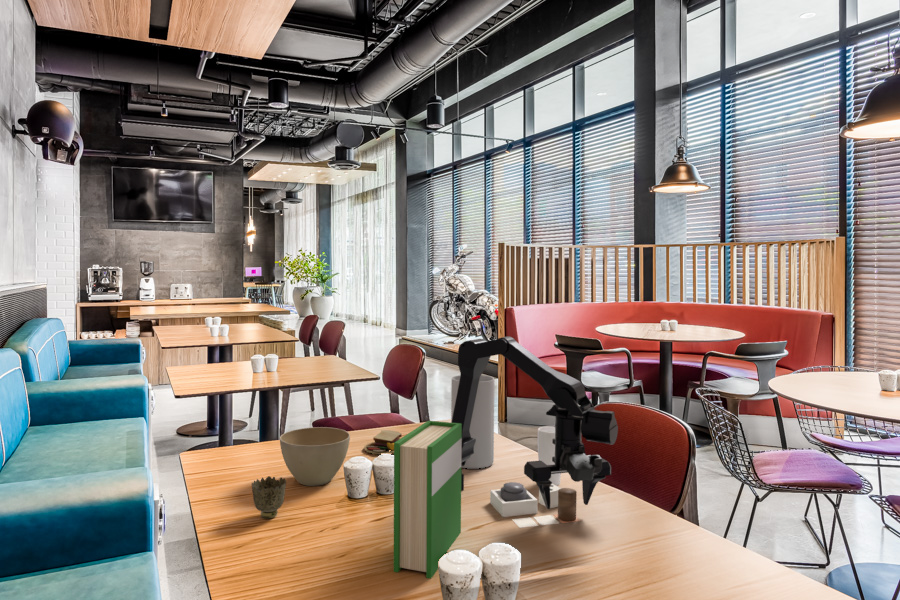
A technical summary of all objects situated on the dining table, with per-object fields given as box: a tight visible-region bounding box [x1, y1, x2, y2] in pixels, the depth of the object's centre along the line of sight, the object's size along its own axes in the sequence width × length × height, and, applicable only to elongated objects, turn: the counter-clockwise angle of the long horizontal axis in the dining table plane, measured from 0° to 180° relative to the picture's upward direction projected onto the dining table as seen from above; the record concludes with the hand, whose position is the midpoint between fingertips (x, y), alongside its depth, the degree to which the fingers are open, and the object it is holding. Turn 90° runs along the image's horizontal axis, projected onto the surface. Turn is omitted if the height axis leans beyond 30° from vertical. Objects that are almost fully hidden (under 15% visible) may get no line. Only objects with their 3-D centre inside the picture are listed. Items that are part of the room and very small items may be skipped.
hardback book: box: [393, 420, 462, 579], centre depth 113 cm, size 18×7×24 cm, turn 161°
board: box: [489, 488, 581, 529], centre depth 131 cm, size 18×16×4 cm
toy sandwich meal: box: [363, 429, 403, 455], centre depth 182 cm, size 12×14×5 cm
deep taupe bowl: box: [279, 426, 351, 487], centre depth 153 cm, size 18×18×12 cm
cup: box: [251, 476, 287, 520], centre depth 130 cm, size 8×7×8 cm
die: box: [538, 484, 562, 509], centre depth 136 cm, size 4×4×4 cm
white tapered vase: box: [536, 425, 562, 486], centre depth 151 cm, size 7×7×15 cm
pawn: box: [557, 487, 578, 523], centre depth 128 cm, size 4×4×6 cm
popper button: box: [500, 481, 528, 502], centre depth 134 cm, size 6×6×5 cm
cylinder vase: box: [450, 374, 495, 470], centre depth 169 cm, size 12×12×25 cm
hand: (566, 506), depth 128 cm, fingers open, 9 cm apart
